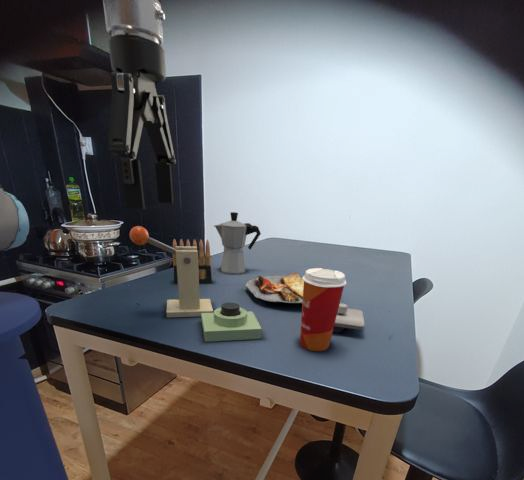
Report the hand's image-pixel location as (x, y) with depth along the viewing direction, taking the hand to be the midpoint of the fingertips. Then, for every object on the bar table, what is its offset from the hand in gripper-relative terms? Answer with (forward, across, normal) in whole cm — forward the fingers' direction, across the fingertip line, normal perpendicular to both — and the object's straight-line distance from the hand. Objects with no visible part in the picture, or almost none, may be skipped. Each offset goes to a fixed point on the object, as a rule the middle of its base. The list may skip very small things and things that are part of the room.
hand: (152, 205), depth 55 cm
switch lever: (+10, +7, +2) cm, 12 cm away
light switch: (+23, +6, -37) cm, 44 cm away
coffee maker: (+23, +46, -8) cm, 52 cm away
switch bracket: (+22, +8, -3) cm, 24 cm away
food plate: (+23, +26, -26) cm, 43 cm away
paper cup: (+23, -4, -31) cm, 39 cm away
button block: (+22, 0, -14) cm, 27 cm away
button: (+19, -1, -14) cm, 23 cm away
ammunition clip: (+23, +30, +2) cm, 37 cm away
